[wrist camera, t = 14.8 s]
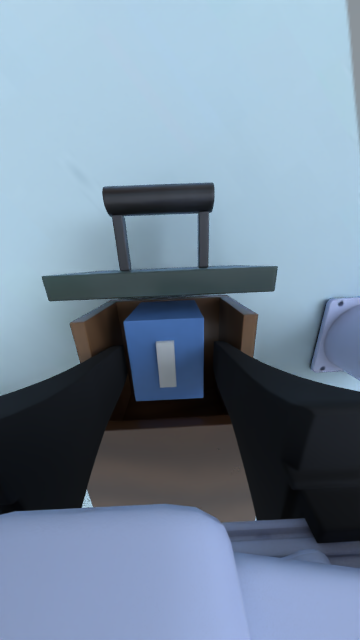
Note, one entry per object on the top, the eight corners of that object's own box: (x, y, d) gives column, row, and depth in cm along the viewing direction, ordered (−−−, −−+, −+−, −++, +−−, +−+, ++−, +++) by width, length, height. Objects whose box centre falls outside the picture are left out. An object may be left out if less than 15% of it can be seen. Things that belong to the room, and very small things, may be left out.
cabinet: (113, 359, 17) (66, 433, 10) (231, 354, 17) (274, 422, 10) (130, 449, 22) (107, 547, 14) (225, 444, 22) (251, 538, 14)
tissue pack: (194, 299, 14) (204, 319, 9) (195, 358, 15) (204, 401, 10) (140, 302, 13) (120, 323, 9) (147, 360, 15) (134, 405, 10)
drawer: (86, 207, 12) (4, 154, 6) (238, 201, 12) (295, 144, 6) (121, 392, 18) (95, 456, 12) (226, 387, 18) (252, 448, 12)
